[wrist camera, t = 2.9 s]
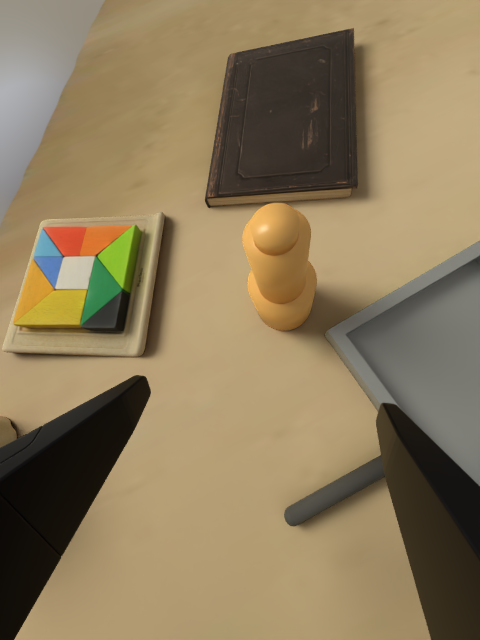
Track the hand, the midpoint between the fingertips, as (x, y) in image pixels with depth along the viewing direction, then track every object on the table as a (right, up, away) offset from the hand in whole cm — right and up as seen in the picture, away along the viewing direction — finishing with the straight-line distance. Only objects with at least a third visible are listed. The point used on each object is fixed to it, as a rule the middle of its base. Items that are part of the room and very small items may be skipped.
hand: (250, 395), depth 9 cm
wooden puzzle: (-18, +7, +21) cm, 29 cm away
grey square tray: (+17, -1, +10) cm, 20 cm away
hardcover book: (+5, +27, +21) cm, 35 cm away
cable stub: (+8, -10, +10) cm, 16 cm away
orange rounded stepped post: (+4, +4, +14) cm, 16 cm away
